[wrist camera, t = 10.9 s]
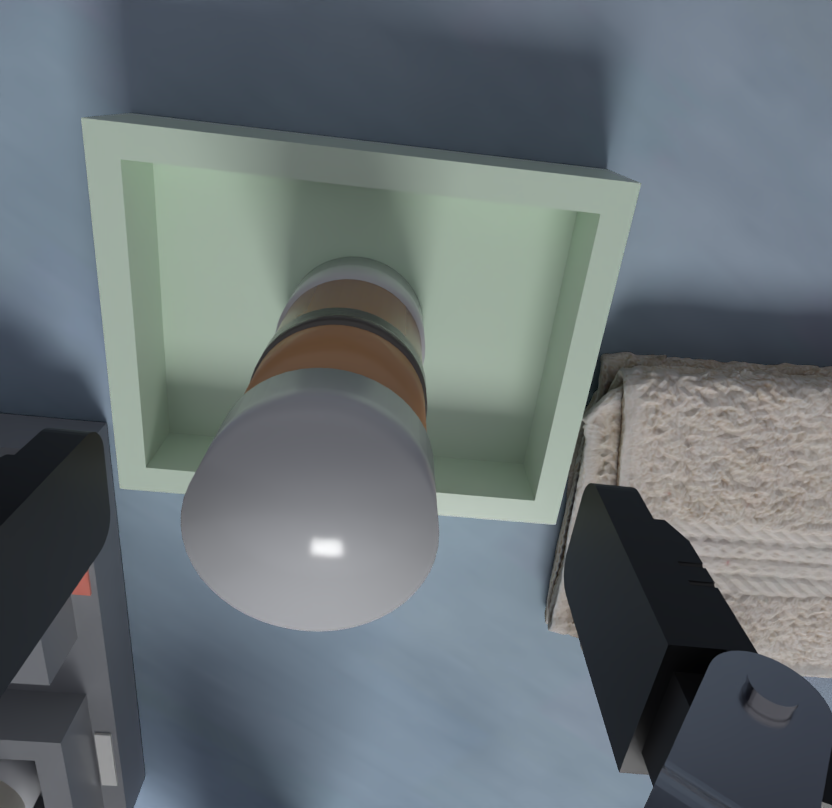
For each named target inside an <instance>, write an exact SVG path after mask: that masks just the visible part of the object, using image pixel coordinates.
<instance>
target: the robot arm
mask: <svg viewBox="0 0 832 808" xmlns="http://www.w3.org/2000/svg"><path fill="white" fill-rule="evenodd" d="M109 526H110V503H109V493H108V484H107V474H106V464H105V454H104V446H103V441H102V439H101V436H100V435H99V434H98V433H97V432H90V431H80V430H70V429H60V428H50V427H48V428H45V429H43V430H41V431H40V432H39V433H38V434H37V435H36V436H35V437H34V438H32V439H31V440H30V441H29V442H28V443H27V444H26V445H25V446H24V447H23V448H21V449H20V450H19V451H18V452H17V453H16V454H15V455H10V454H6V455H4V456H2V457H0V698H1V696H2V695H3V693H4V692H5V690H6V689H7V687H8V686H9V684H10V683H11V682H12V680H13V679H14V677H15V676H16V674H17V673H18V671H19V670H20V668H21V667H22V665H23V664H24V663H25V661H26V660H27V658H28V657H29V655H30V654H31V652H32V651H33V649H34V648H35V646H36V645H37V644H38V642H39V641H40V639H41V638H42V636H43V635H44V633H45V632H46V630H47V629H48V627H49V626H50V625H51V623H52V622H53V620H54V619H55V617H56V616H57V614H58V613H59V611H60V610H61V608H62V607H63V606H64V604H65V603H66V601H67V600H68V598H69V597H70V595H71V594H72V592H73V591H74V589H75V588H76V587H77V585H78V584H79V582H80V581H81V579H82V578H83V576H84V575H85V573H86V572H87V570H88V569H89V568H90V566H91V565H92V563H93V562H94V560H95V559H96V557H97V556H98V554H99V553H100V551H101V550H102V548H103V546H104V544H105V541H106V538H107V535H108V531H109ZM714 584H715V582H714V581H713V579H712V577H711V576H710V574H709V572H708V571H707V569H706V568H703V563H702V561H701V559H700V558H699V556H698V554H697V553H696V551H695V550H694V548H693V546H692V545H691V543H690V541H689V540H688V539H686V538H685V537H684V536H683V535H682V534H681V533H679V532H678V531H677V530H676V529H675V528H674V527H672V526H671V525H670V524H669V523H668V522H667V521H665V520H660V519H654V518H653V517H652V515H651V513H650V511H649V510H648V508H647V506H646V504H645V502H644V501H643V499H642V497H641V495H640V493H639V492H638V490H637V489H636V488H634V487H626V486H616V485H606V484H596V483H589V484H588V485H587V486H586V488H585V490H584V492H583V495H582V498H581V502H580V506H579V509H578V513H577V517H576V520H575V524H574V528H573V531H572V535H571V539H570V542H569V546H568V550H567V553H566V558H565V564H564V588H565V593H566V597H567V601H568V604H569V607H570V610H571V614H572V617H573V620H574V624H575V627H576V630H577V634H578V637H579V640H580V644H581V647H582V650H583V654H584V657H585V660H586V664H587V667H588V670H589V674H590V677H591V680H592V684H593V687H594V690H595V694H596V697H597V700H598V704H599V707H600V710H601V714H602V717H603V720H604V724H605V727H606V730H607V733H608V737H609V740H610V743H611V747H612V750H613V753H614V757H615V760H616V763H617V767H618V770H619V772H620V773H633V774H646V775H649V776H650V779H651V782H652V785H653V789H652V791H651V793H650V796H649V798H648V800H647V802H646V804H645V807H644V808H832V712H831V710H830V708H829V706H828V704H827V703H826V701H825V700H824V698H823V697H822V696H821V695H820V693H819V692H818V691H817V690H816V689H815V688H814V687H813V686H812V685H811V684H810V683H809V682H808V681H807V680H806V679H804V678H803V677H802V676H801V675H799V674H798V673H797V672H795V671H794V670H792V669H791V668H789V667H787V666H786V665H784V664H782V663H780V662H778V661H776V660H774V659H771V658H769V657H766V656H763V655H761V654H758V653H757V651H756V649H755V648H754V646H753V644H752V643H751V641H750V639H749V638H748V636H747V635H746V633H745V631H744V630H743V628H742V626H741V625H740V623H739V621H738V620H737V618H736V617H735V615H734V613H733V612H732V610H731V608H730V607H729V605H728V604H727V602H726V600H725V599H724V597H723V595H722V594H721V592H720V590H719V589H718V588H716V587H715V586H714Z"/></svg>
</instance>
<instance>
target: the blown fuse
mask: <svg viewBox="0 0 832 808" xmlns="http://www.w3.org/2000/svg"><path fill="white" fill-rule="evenodd" d="M424 358H425V336H424V323H423V313H422V309H421V305H420V302H419V299H418V297H417V295H416V293H415V291H414V290H413V288H412V287H411V285H410V284H409V283H408V282H407V280H406V279H405V278H404V277H403V276H402V275H401V274H399V273H398V272H397V271H396V270H394V269H393V268H391V267H389V266H388V265H386V264H384V263H381V262H379V261H376V260H373V259H370V258H364V257H352V256H351V257H341V258H336V259H332V260H330V261H327V262H324V263H322V264H321V265H319V266H317V267H315V268H314V269H313V270H311V271H310V272H309V273H308V274H307V275H305V276H304V277H303V278H302V280H301V281H300V282H299V284H298V285H297V287H296V288H295V290H294V292H293V294H292V295H291V297H290V299H289V301H288V303H287V305H286V306H285V308H284V310H283V312H282V314H281V316H280V319H279V321H278V324H277V328H276V333H275V335H274V336H273V338H272V339H271V340H270V341H269V343H268V345H267V347H266V348H265V350H264V352H263V354H262V356H261V357H260V359H259V361H258V363H257V365H256V367H255V369H254V371H253V374H252V377H251V380H250V383H249V385H248V387H247V389H246V391H245V393H244V395H243V396H242V397H241V398H240V399H239V400H238V401H237V402H236V403H235V404H234V406H233V407H232V408H231V409H230V411H229V412H228V414H227V416H226V417H225V419H224V421H223V422H222V424H221V426H220V428H219V430H218V432H217V434H216V435H215V437H214V439H213V441H212V443H211V445H210V446H209V448H208V450H207V452H206V454H205V456H204V457H203V459H202V461H201V463H200V465H199V467H198V469H197V470H196V472H195V474H194V476H193V478H192V480H191V481H190V483H189V485H188V488H187V491H186V493H185V496H184V499H183V504H182V510H181V531H182V538H183V542H184V545H185V549H186V552H187V554H188V556H189V558H190V561H191V563H192V565H193V566H194V568H195V570H196V571H197V573H198V574H199V576H200V577H201V578H202V580H203V581H204V582H205V583H206V584H207V585H208V587H209V588H210V589H211V590H212V591H214V592H215V593H216V594H217V595H218V596H219V597H220V598H221V599H223V600H224V601H225V602H227V603H228V604H229V605H231V606H232V607H234V608H236V609H237V610H239V611H241V612H243V613H244V614H246V615H248V616H250V617H253V618H255V619H257V620H260V621H262V622H265V623H268V624H271V625H274V626H279V627H283V628H288V629H294V630H302V631H334V630H341V629H347V628H352V627H356V626H360V625H363V624H366V623H369V622H371V621H374V620H376V619H379V618H381V617H383V616H385V615H386V614H388V613H390V612H392V611H394V610H395V609H396V608H398V607H399V606H401V605H402V604H403V603H405V602H406V601H407V600H408V599H409V598H410V597H411V596H412V595H413V594H414V593H415V592H416V591H417V590H418V589H419V587H420V586H421V585H422V584H423V582H424V581H425V579H426V577H427V576H428V574H429V572H430V570H431V568H432V565H433V563H434V561H435V557H436V553H437V549H438V542H439V523H438V510H437V497H436V483H435V470H434V457H433V451H432V446H431V442H430V439H429V437H428V434H427V429H426V417H427V393H426V379H425V373H424V369H423V363H424Z"/></svg>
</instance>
